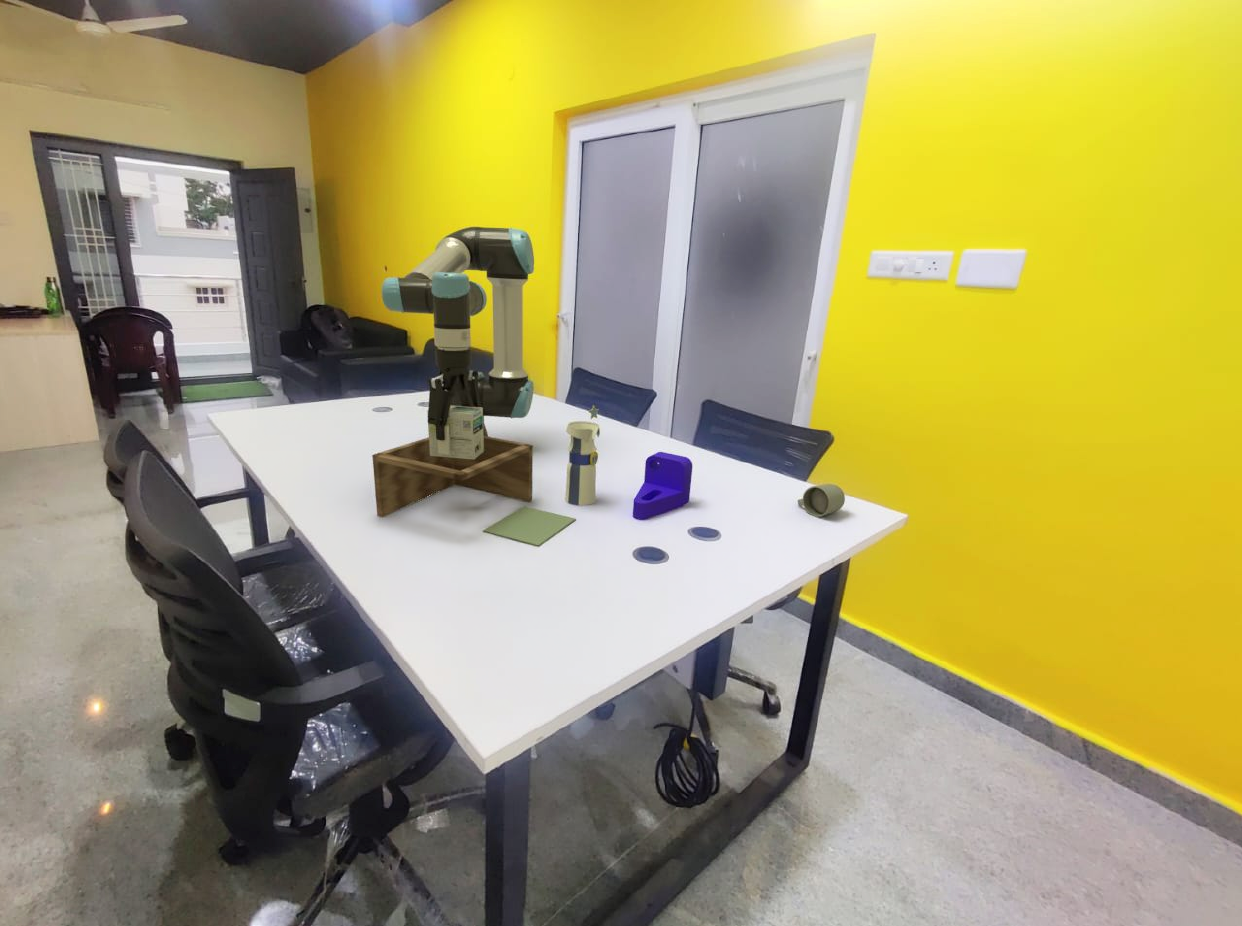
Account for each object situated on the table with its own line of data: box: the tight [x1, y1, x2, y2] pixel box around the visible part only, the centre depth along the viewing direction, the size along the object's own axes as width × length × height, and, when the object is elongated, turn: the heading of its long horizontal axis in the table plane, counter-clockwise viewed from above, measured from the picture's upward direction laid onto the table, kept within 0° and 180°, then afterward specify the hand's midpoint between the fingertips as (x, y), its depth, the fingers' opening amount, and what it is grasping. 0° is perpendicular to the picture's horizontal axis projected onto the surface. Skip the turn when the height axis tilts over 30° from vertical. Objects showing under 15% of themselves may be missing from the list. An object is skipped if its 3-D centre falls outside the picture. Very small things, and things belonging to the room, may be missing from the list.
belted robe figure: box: [564, 405, 601, 507], centre depth 141 cm, size 8×9×25 cm
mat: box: [482, 505, 577, 548], centre depth 128 cm, size 16×14×1 cm
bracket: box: [632, 451, 693, 521], centre depth 141 cm, size 18×11×12 cm, turn 150°
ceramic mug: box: [797, 483, 846, 518], centre depth 146 cm, size 11×8×8 cm
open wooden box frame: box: [372, 436, 534, 518], centre depth 134 cm, size 26×24×14 cm
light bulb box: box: [427, 405, 484, 459], centre depth 130 cm, size 11×7×11 cm, turn 84°
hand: (457, 448), depth 132 cm, fingers closed on light bulb box, 8 cm apart
